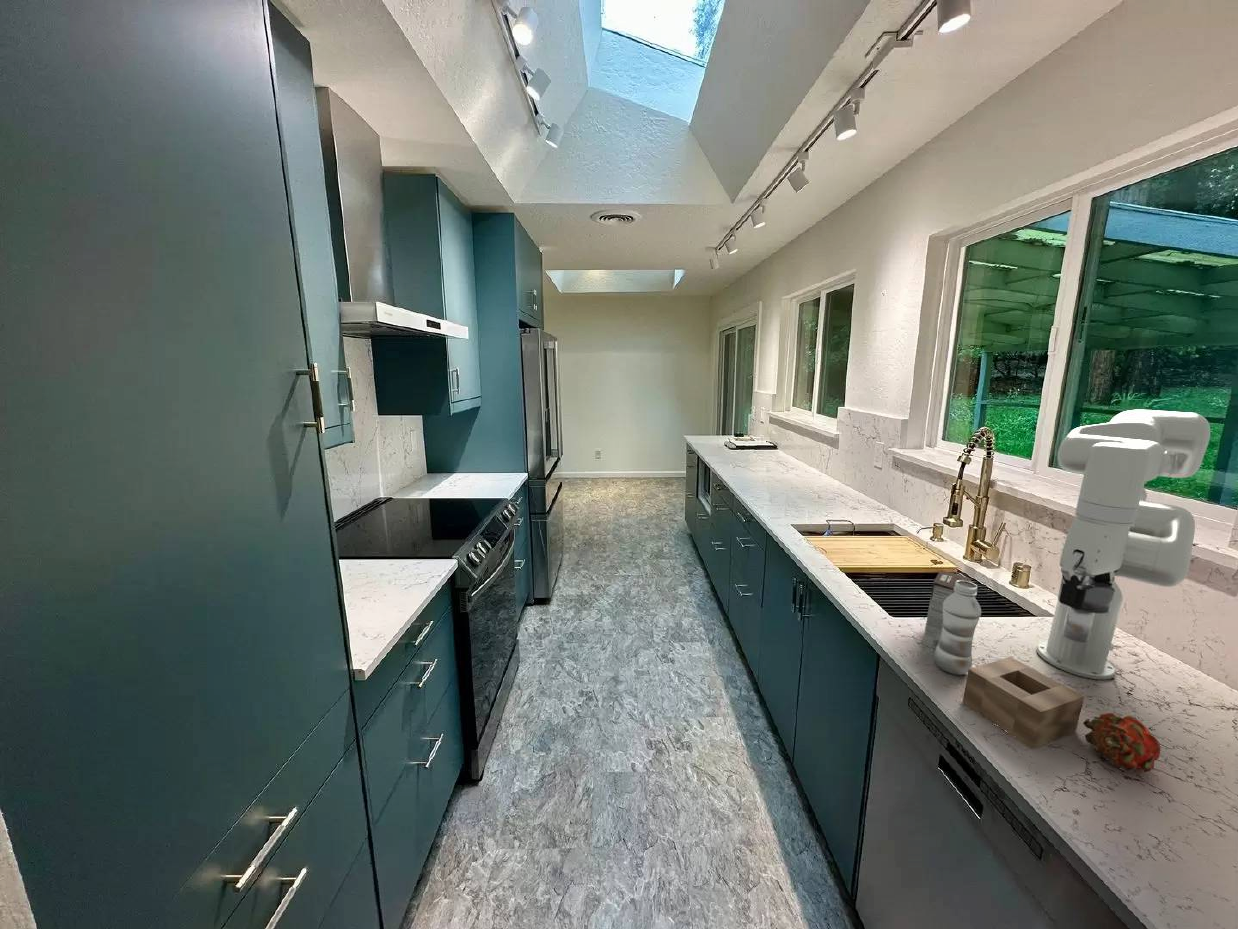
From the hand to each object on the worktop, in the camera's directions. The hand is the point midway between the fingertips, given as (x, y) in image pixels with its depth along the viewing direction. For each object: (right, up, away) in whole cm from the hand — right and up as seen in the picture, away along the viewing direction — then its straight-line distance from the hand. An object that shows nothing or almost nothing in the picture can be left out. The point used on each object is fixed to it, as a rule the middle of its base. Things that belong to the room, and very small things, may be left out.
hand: (1083, 602), depth 88 cm
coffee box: (-10, -17, +24) cm, 31 cm away
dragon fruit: (-3, -24, -9) cm, 26 cm away
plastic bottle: (-15, -19, +14) cm, 28 cm away
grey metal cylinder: (0, -7, +2) cm, 7 cm away
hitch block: (-12, -22, 0) cm, 25 cm away
